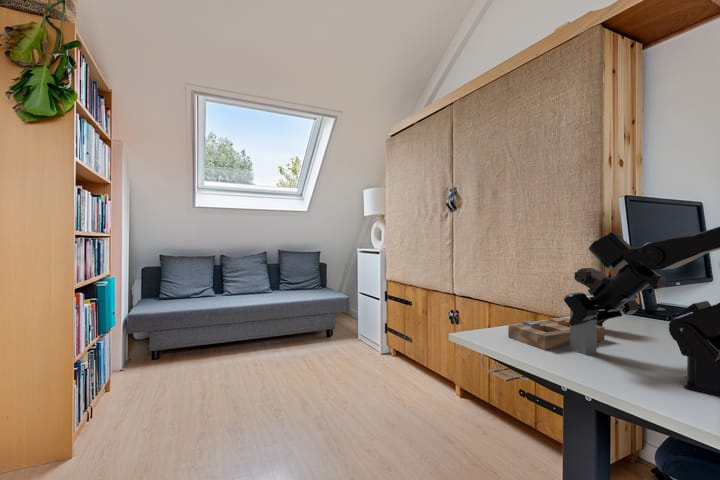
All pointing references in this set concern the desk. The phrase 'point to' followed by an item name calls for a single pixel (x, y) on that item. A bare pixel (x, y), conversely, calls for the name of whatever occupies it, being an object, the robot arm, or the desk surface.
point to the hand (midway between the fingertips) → (578, 323)
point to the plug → (584, 336)
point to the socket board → (546, 333)
